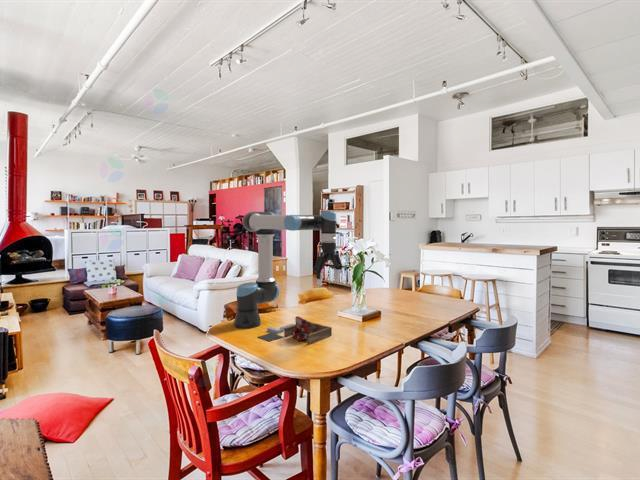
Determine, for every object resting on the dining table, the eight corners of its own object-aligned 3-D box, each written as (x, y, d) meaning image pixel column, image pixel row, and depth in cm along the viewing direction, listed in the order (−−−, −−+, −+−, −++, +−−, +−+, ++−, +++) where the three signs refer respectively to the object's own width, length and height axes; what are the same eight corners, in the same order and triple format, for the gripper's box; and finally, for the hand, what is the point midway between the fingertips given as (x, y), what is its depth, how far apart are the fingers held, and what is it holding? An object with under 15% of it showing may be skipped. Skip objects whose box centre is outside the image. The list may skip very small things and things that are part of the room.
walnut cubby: (284, 336, 185) (284, 328, 185) (307, 328, 198) (307, 320, 198) (309, 344, 174) (309, 335, 174) (331, 335, 187) (331, 327, 187)
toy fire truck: (301, 343, 176) (301, 322, 175) (290, 336, 186) (290, 316, 186) (313, 341, 179) (313, 320, 179) (302, 334, 190) (302, 314, 189)
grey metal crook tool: (279, 331, 194) (279, 327, 194) (292, 327, 202) (292, 323, 202) (287, 333, 190) (287, 330, 190) (301, 329, 198) (301, 325, 198)
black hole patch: (257, 337, 184) (257, 336, 184) (270, 333, 191) (270, 332, 191) (269, 341, 178) (269, 340, 178) (282, 337, 185) (282, 336, 185)
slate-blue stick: (267, 331, 195) (267, 328, 195) (270, 330, 197) (270, 327, 196) (277, 334, 189) (277, 331, 189) (280, 333, 191) (280, 330, 191)
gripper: (317, 243, 169) (317, 288, 171) (349, 241, 188) (348, 281, 189) (306, 242, 174) (306, 286, 175) (337, 240, 193) (337, 279, 194)
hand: (328, 283), depth 182 cm, fingers open, 13 cm apart
